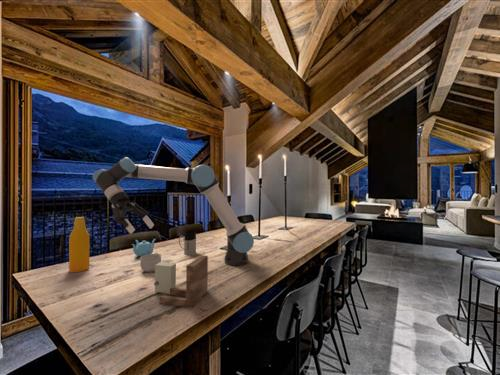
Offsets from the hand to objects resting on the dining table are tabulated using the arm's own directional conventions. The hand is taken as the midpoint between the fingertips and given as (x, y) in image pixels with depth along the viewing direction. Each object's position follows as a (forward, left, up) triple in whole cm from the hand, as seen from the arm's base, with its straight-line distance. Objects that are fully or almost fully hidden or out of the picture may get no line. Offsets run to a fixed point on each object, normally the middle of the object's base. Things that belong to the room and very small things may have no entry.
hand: (143, 229), depth 111 cm
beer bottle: (+44, -21, -27) cm, 55 cm away
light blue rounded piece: (+19, -46, -27) cm, 57 cm away
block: (-12, +6, -27) cm, 30 cm away
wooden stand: (-22, +12, -27) cm, 37 cm away
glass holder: (-9, -49, -27) cm, 57 cm away
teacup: (+4, -21, -27) cm, 34 cm away
